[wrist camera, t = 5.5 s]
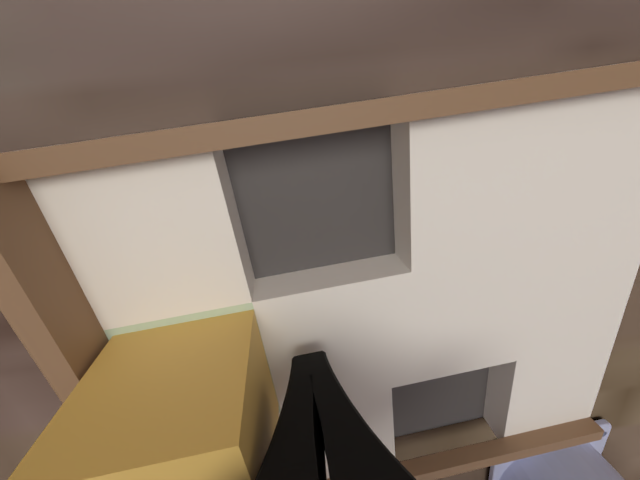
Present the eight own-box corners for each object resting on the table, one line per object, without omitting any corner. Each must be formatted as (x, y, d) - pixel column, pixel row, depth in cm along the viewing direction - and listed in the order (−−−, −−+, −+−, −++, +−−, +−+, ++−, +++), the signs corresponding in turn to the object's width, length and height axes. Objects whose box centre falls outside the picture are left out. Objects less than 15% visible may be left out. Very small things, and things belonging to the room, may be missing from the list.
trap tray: (556, 394, 19) (620, 458, 15) (194, 477, 17) (173, 569, 14) (640, 60, 12) (796, 38, 8) (32, 148, 10) (-96, 167, 7)
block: (278, 404, 13) (280, 559, 9) (160, 429, 13) (96, 605, 8) (253, 309, 11) (238, 445, 7) (112, 335, 11) (-8, 499, 6)
